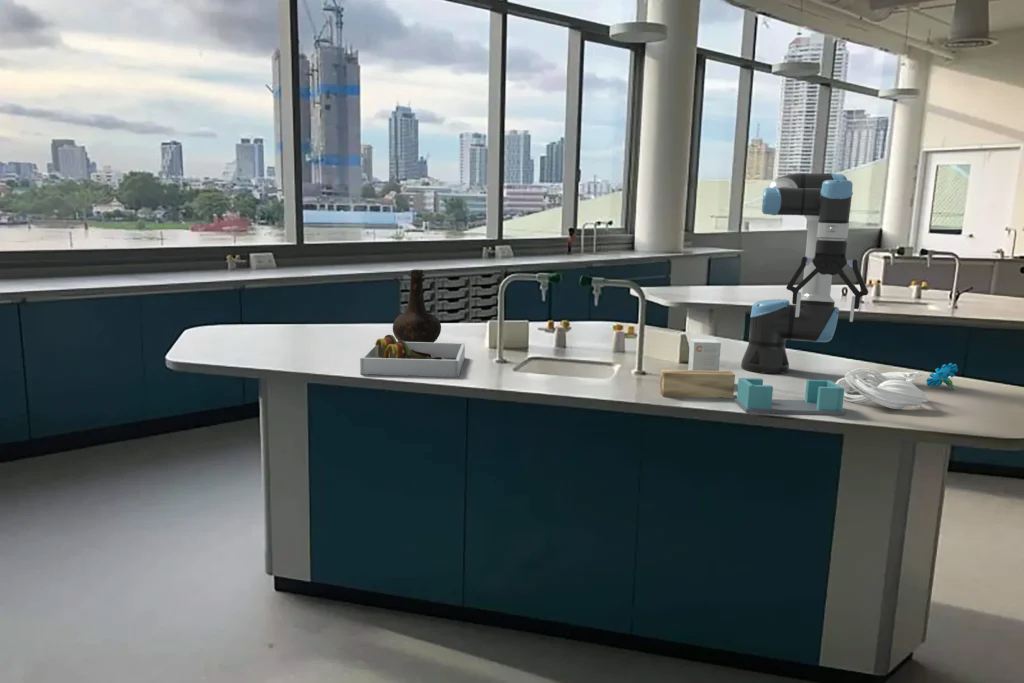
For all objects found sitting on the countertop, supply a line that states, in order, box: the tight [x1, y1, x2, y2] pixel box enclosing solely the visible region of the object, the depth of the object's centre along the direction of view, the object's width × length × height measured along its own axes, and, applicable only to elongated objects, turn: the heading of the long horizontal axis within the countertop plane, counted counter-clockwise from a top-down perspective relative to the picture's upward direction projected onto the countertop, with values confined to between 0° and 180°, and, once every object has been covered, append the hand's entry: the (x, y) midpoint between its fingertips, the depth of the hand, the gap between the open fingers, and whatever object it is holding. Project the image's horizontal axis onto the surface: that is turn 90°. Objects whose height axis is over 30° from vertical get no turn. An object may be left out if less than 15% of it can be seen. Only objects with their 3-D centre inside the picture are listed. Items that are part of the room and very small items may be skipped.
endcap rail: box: [733, 377, 846, 416], centre depth 203 cm, size 11×26×7 cm, turn 90°
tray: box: [359, 342, 466, 378], centre depth 244 cm, size 29×30×5 cm
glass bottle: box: [392, 268, 442, 343], centre depth 277 cm, size 18×18×28 cm
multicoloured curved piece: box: [374, 334, 445, 360], centre depth 244 cm, size 24×24×10 cm
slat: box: [659, 369, 736, 399], centre depth 215 cm, size 4×20×7 cm, turn 91°
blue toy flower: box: [925, 362, 959, 391], centre depth 233 cm, size 11×6×10 cm
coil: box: [835, 367, 929, 410], centre depth 213 cm, size 25×24×9 cm
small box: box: [687, 338, 722, 371], centre depth 231 cm, size 8×6×13 cm
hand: (823, 318), depth 204 cm, fingers open, 13 cm apart
